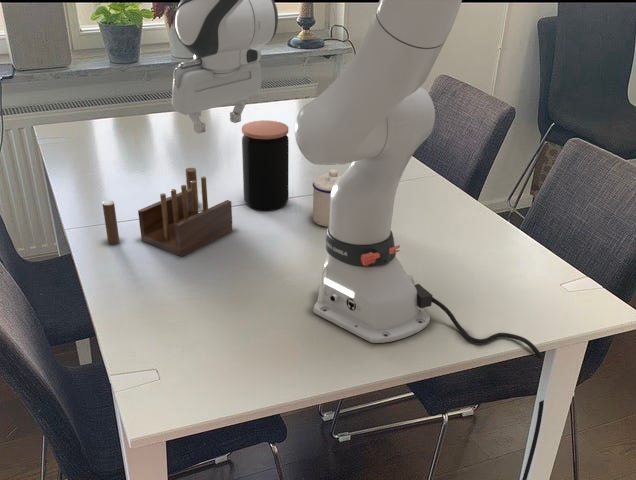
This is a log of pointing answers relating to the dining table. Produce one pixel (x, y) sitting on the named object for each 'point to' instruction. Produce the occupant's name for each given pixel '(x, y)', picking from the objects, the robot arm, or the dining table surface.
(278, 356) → the dining table surface
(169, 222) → the plate rack
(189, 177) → the marker posts
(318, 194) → the teacup with lid
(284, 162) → the coffee jar
